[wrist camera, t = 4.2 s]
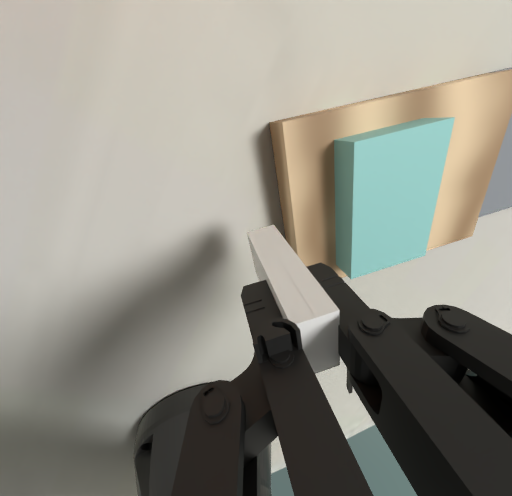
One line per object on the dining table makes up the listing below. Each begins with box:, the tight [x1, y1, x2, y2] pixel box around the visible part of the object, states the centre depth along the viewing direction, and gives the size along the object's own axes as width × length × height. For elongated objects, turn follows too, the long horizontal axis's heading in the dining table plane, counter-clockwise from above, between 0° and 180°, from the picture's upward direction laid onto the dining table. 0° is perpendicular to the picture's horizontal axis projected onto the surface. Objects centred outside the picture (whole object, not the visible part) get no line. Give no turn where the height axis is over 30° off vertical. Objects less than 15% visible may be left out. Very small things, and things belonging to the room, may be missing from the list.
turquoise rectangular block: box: [334, 117, 455, 279], centre depth 15 cm, size 6×9×2 cm, turn 12°
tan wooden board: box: [269, 69, 512, 278], centre depth 17 cm, size 16×12×2 cm
